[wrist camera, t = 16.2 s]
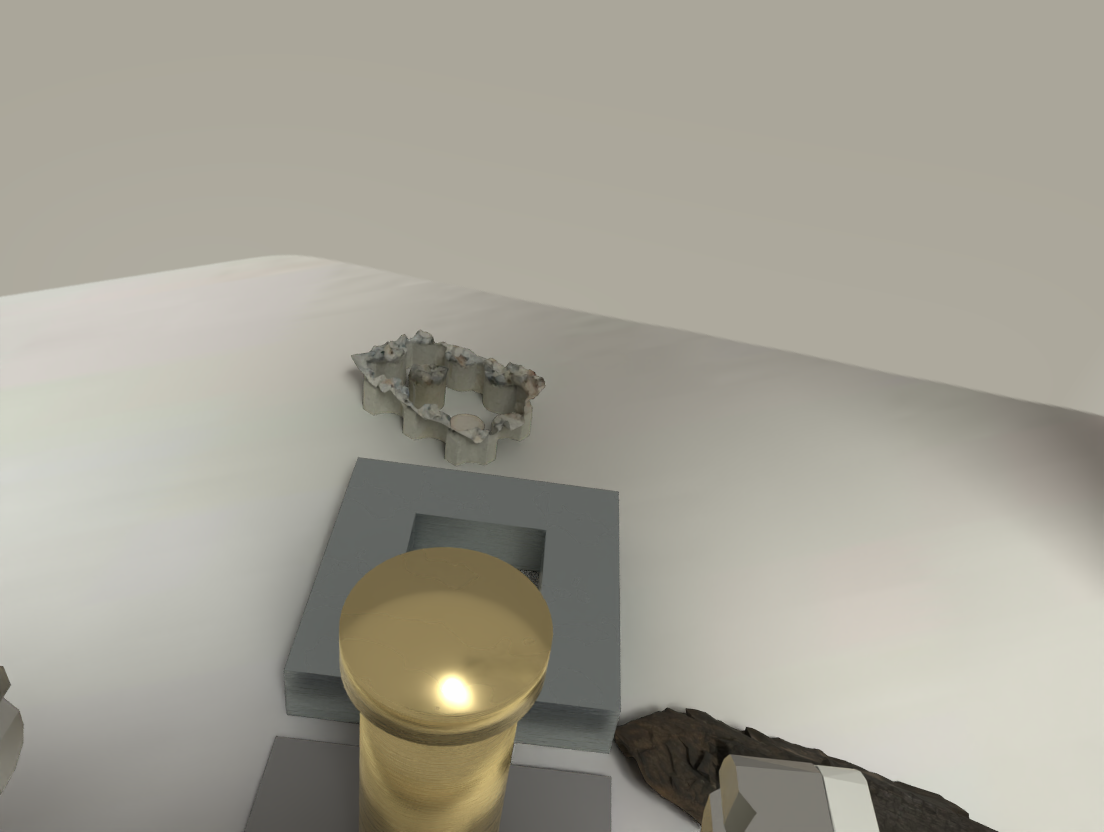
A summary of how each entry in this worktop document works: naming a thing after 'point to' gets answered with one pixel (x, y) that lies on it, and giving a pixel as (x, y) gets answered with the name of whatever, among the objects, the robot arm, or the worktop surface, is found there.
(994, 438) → the worktop surface
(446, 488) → the housing
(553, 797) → the mat
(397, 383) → the egg carton
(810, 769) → the robot arm
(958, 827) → the wood
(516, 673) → the round headed pin
